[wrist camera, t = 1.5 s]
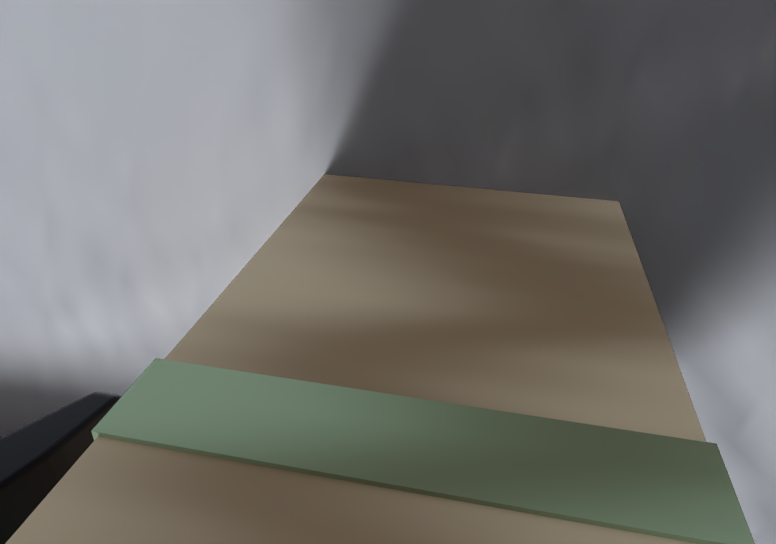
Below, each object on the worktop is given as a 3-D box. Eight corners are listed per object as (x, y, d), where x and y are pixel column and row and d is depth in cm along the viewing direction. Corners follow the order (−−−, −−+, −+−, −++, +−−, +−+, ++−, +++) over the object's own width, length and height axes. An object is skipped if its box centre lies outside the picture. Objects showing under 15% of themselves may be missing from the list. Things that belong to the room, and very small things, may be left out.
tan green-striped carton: (622, 198, 10) (867, 832, 3) (568, 429, 12) (626, 1061, 5) (321, 171, 10) (-64, 603, 4) (329, 393, 13) (110, 898, 6)
